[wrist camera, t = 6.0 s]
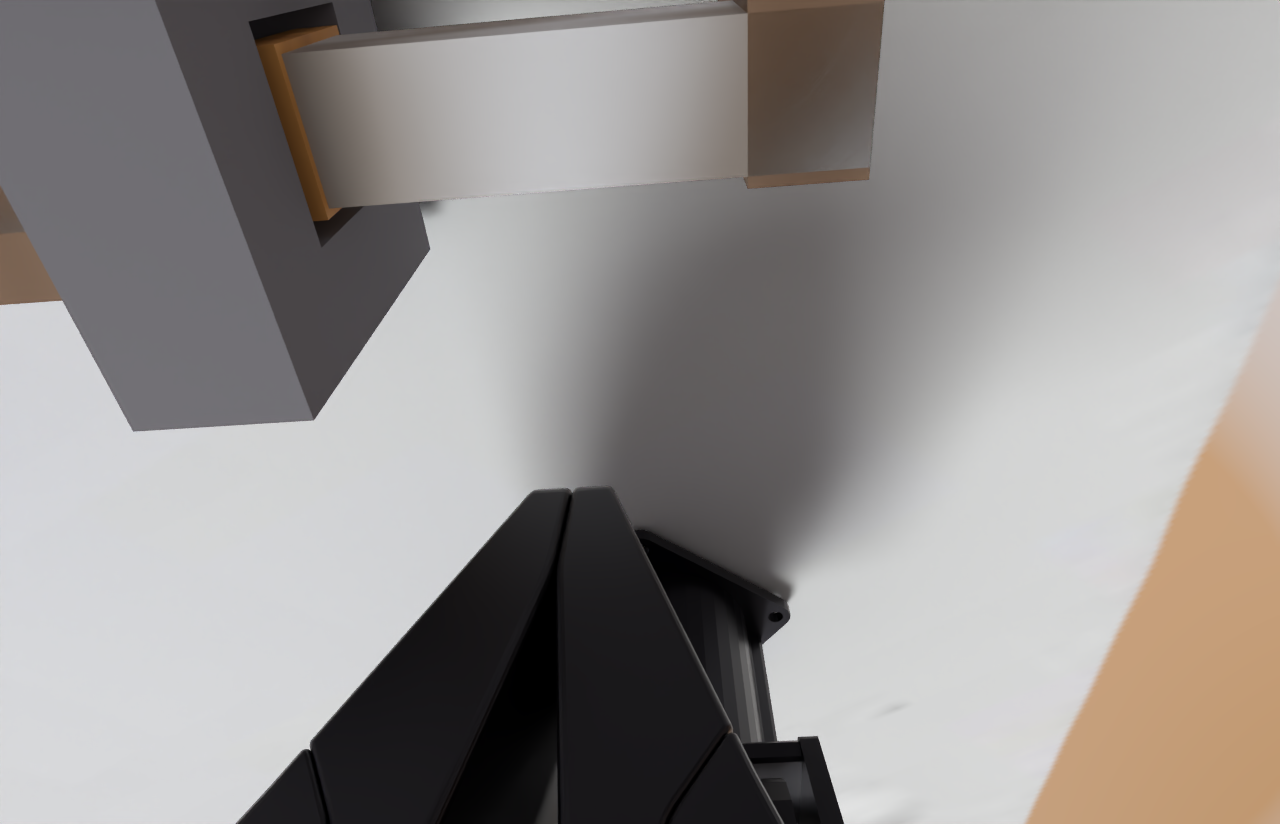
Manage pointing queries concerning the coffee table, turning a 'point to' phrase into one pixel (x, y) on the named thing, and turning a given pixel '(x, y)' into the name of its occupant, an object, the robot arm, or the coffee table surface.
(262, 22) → the collar
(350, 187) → the pipe stand
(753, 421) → the coffee table surface
